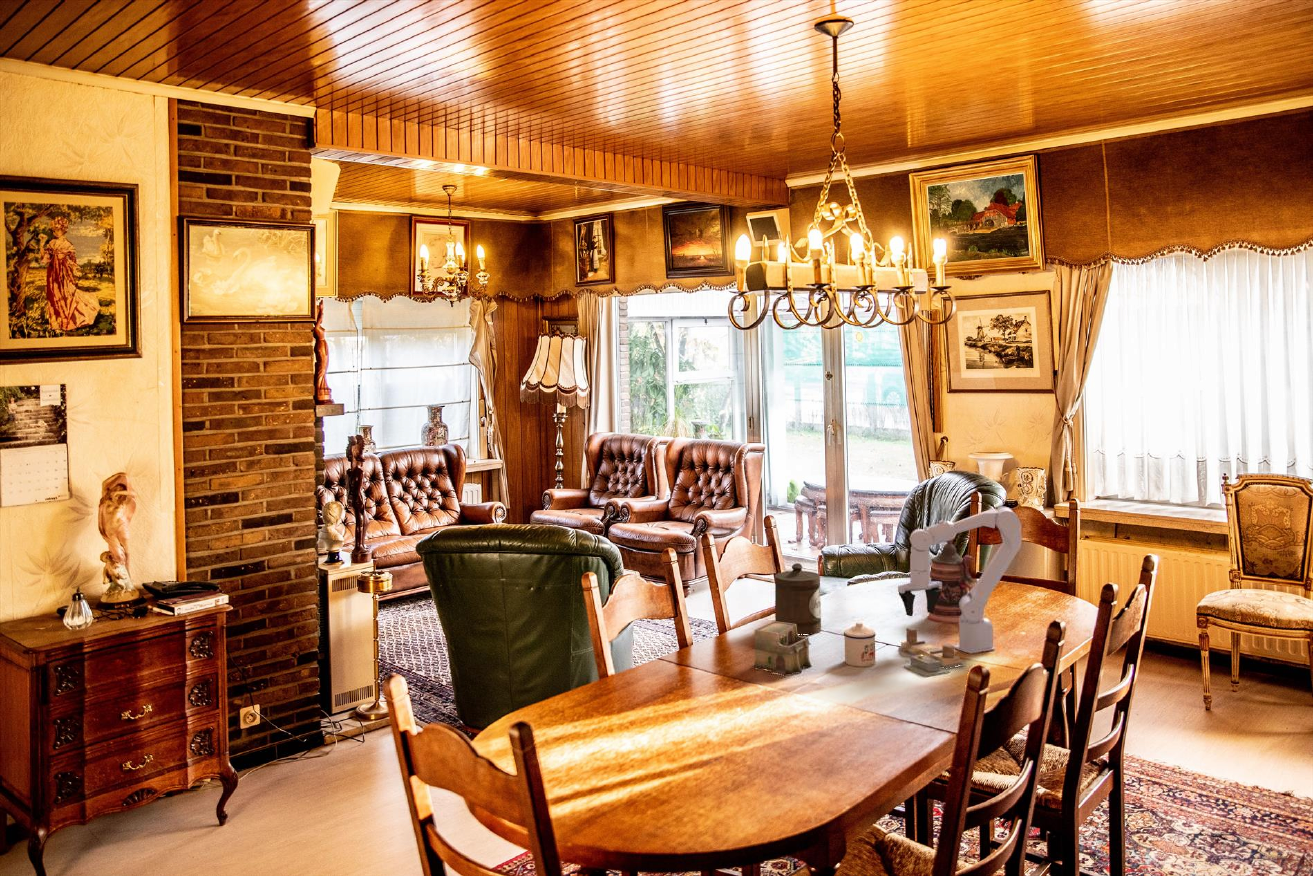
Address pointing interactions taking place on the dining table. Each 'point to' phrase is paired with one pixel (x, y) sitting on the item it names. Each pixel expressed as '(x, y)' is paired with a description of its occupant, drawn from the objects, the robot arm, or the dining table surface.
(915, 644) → the plane body
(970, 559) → the beer stein
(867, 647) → the teacup with lid
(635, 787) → the dining table surface
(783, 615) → the wooden container
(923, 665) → the lever cap
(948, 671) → the felt pad
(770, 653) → the miniature house
